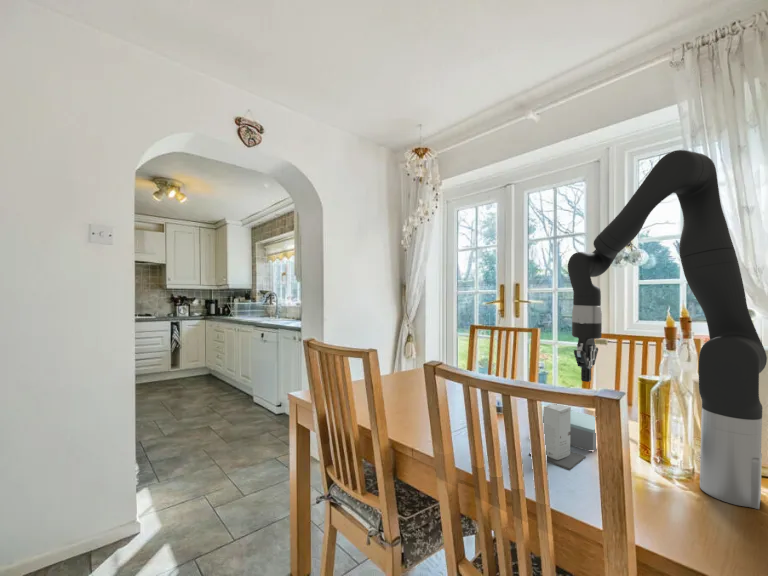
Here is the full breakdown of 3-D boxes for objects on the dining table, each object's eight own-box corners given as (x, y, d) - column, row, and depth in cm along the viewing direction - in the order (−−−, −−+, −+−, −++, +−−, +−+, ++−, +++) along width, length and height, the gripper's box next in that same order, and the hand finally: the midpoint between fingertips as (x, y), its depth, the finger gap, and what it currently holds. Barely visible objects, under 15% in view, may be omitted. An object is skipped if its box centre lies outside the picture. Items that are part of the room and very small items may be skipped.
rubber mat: (585, 457, 93) (585, 456, 93) (569, 470, 87) (569, 468, 87) (546, 444, 101) (546, 443, 101) (528, 455, 94) (528, 453, 94)
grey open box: (607, 440, 105) (608, 422, 105) (592, 452, 97) (593, 433, 97) (557, 426, 115) (557, 409, 115) (539, 435, 107) (540, 418, 107)
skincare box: (558, 461, 90) (560, 411, 90) (541, 454, 94) (542, 406, 94) (571, 454, 94) (572, 406, 94) (553, 448, 97) (555, 402, 97)
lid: (608, 422, 105) (608, 419, 105) (593, 433, 97) (593, 430, 97) (557, 409, 115) (557, 407, 115) (540, 418, 107) (540, 415, 107)
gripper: (581, 319, 115) (580, 375, 115) (564, 321, 106) (563, 382, 106) (608, 321, 110) (608, 380, 109) (592, 323, 101) (592, 387, 100)
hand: (586, 381), depth 107 cm, fingers closed
